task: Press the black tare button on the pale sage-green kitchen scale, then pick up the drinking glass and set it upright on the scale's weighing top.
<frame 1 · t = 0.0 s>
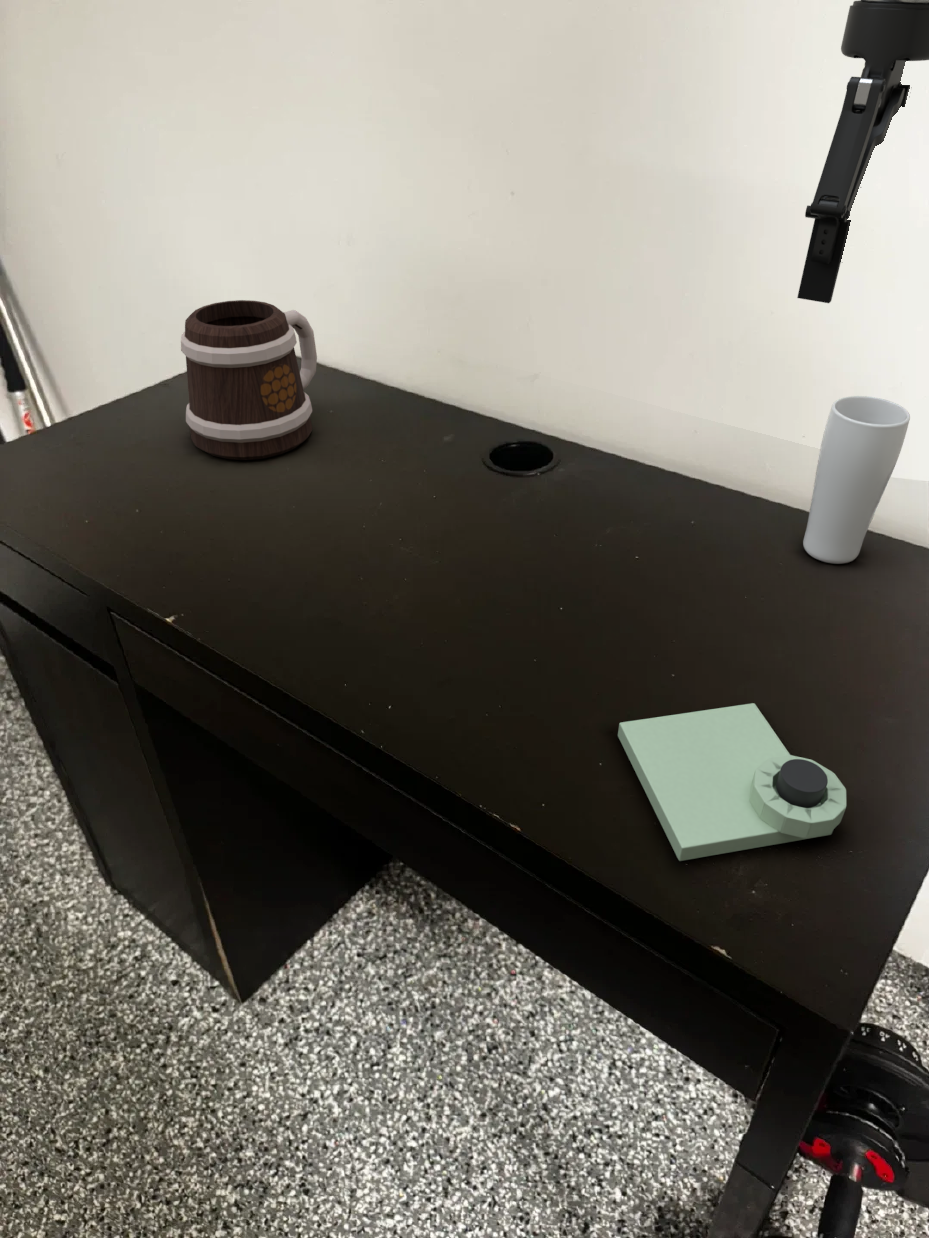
hand: (834, 280, 82), 24 cm above the table, tool pointing down, fingers open, 13 cm apart
tare button: (801, 783, 59), point 3 cm above the table, slide at 0.1 cm
drinking glass: (828, 553, 89), on the table
scale: (718, 782, 64), on the table
mug: (267, 430, 111), on the table
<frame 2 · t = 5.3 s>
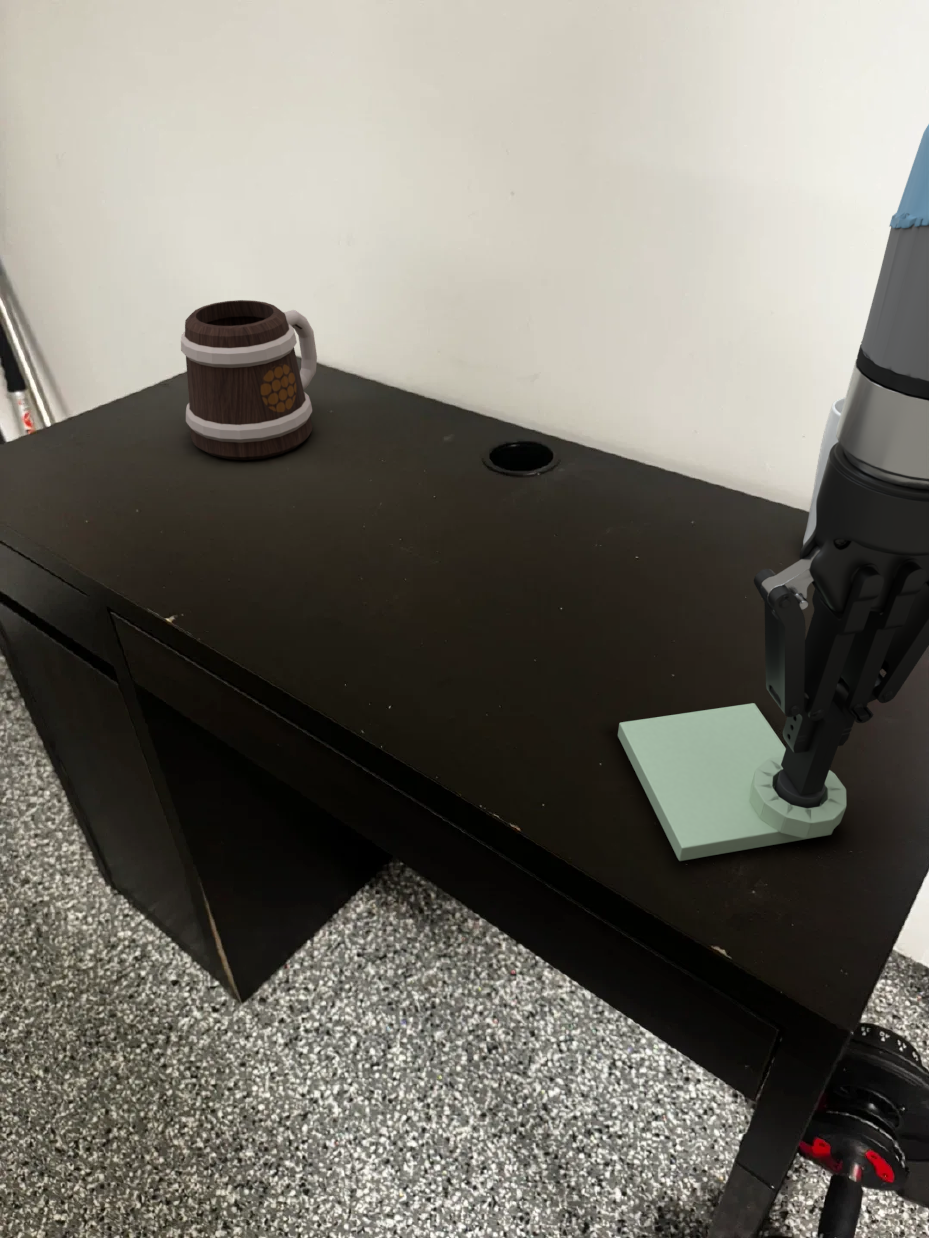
hand: (800, 777, 59), 4 cm above the table, tool pointing down, fingers closed
tare button: (799, 789, 60), point 3 cm above the table, slide at -0.5 cm, touching gripper
everything else where it was.
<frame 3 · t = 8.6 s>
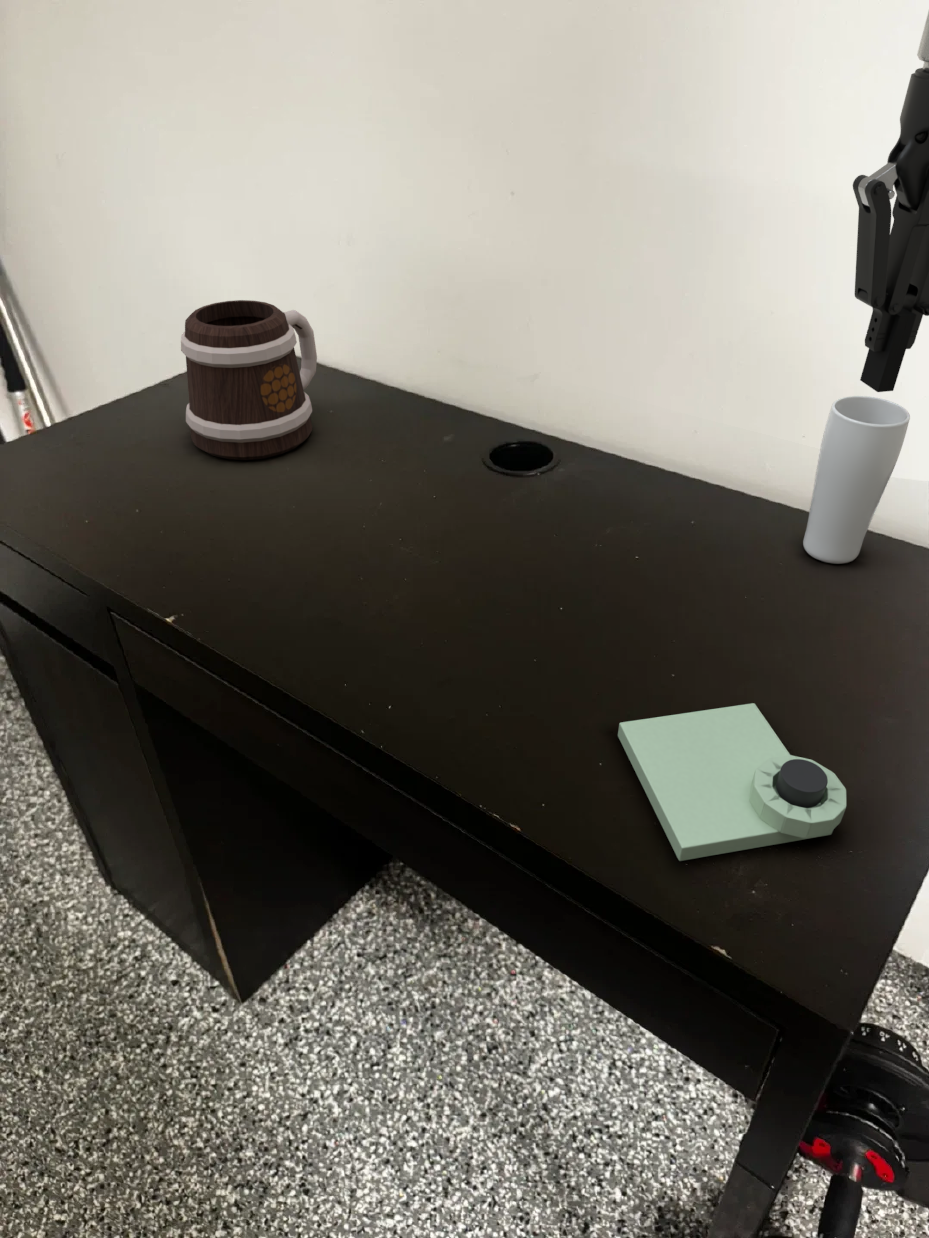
hand: (876, 385, 77), 18 cm above the table, tool pointing down, fingers closed
tare button: (801, 783, 59), point 3 cm above the table, slide at 0.1 cm
everything else where it was.
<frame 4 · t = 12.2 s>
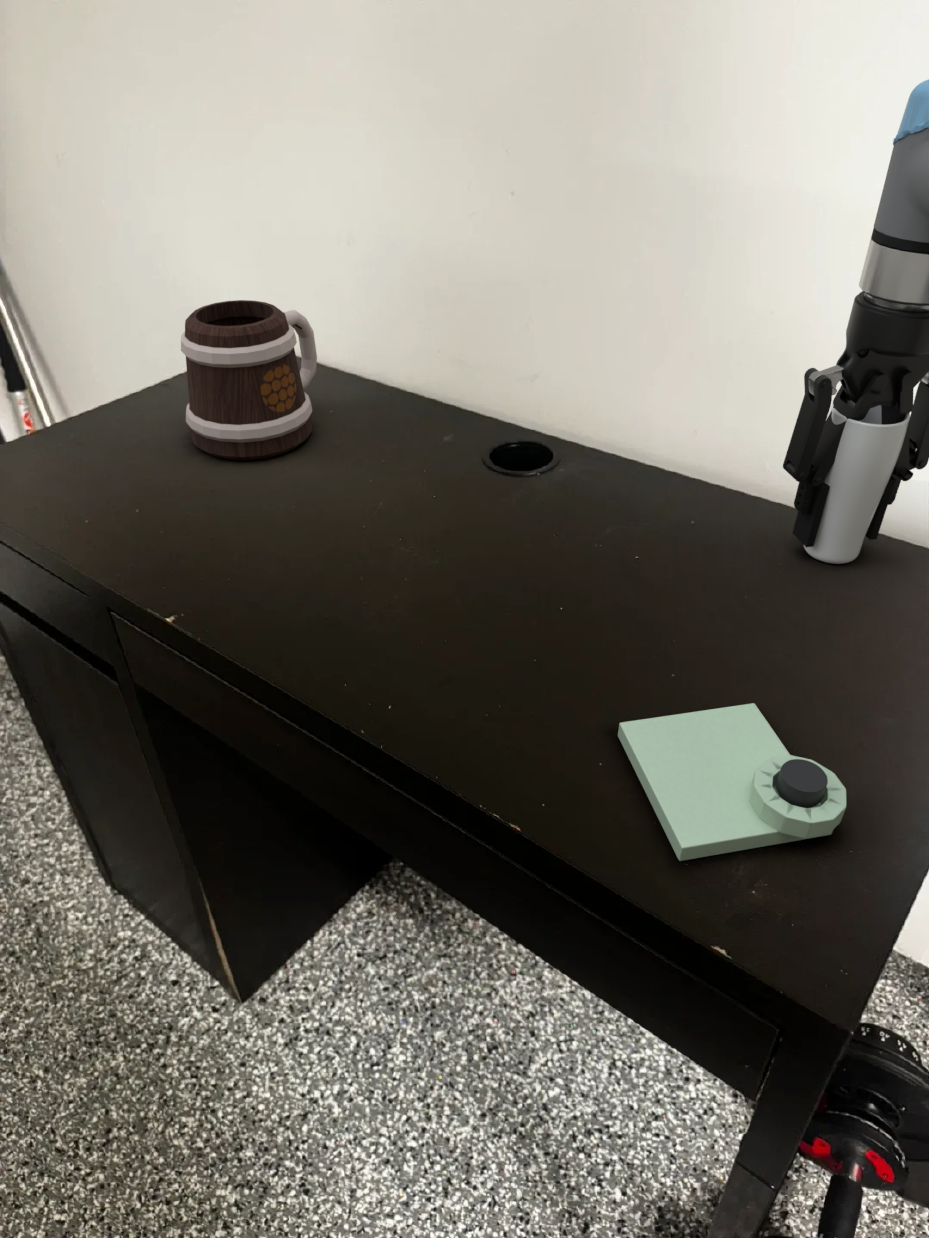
hand: (834, 535, 88), 2 cm above the table, tool pointing down, fingers closed on drinking glass, 6 cm apart
drinking glass: (829, 553, 89), on the table, touching gripper
everything else where it was.
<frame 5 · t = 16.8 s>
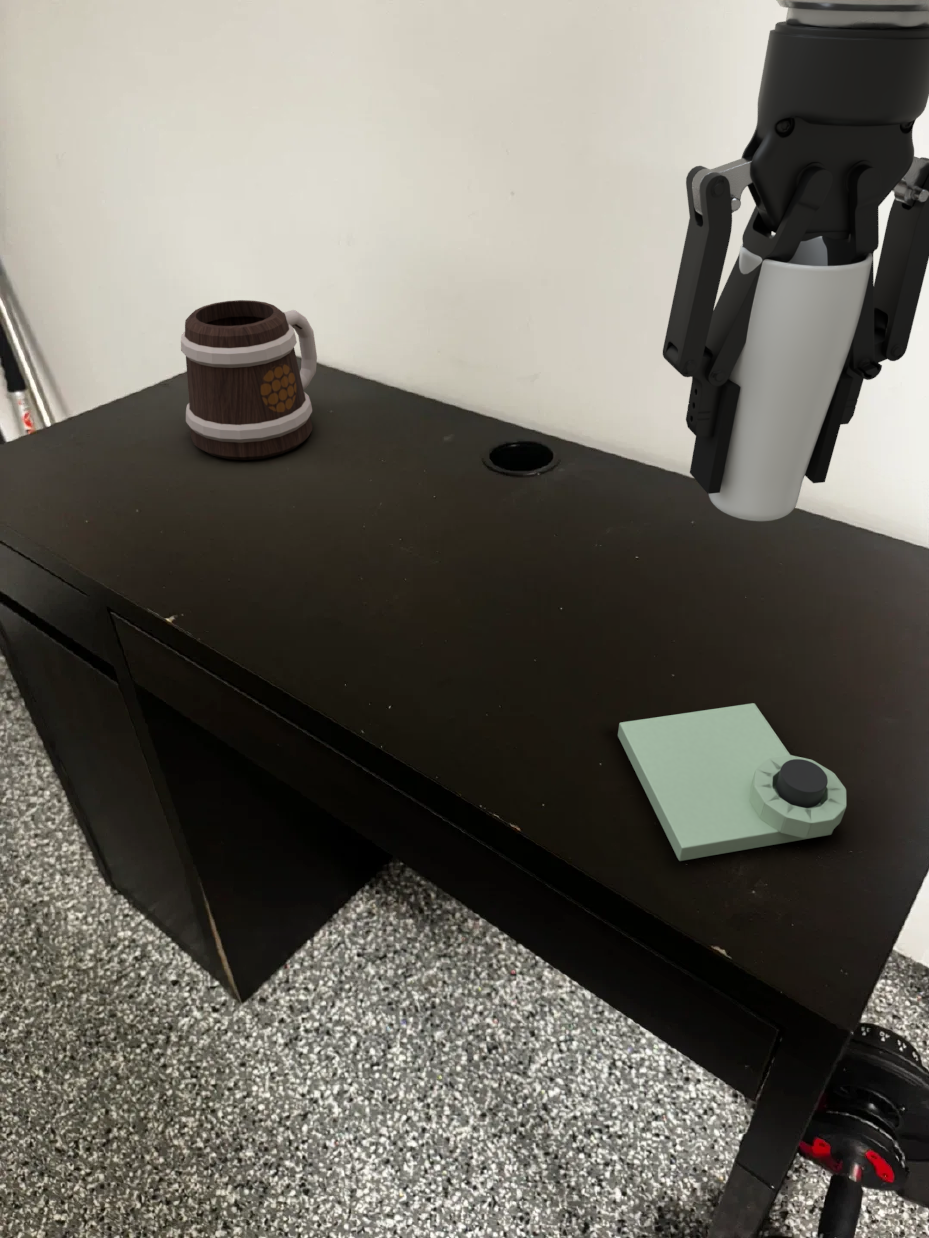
hand: (756, 476, 54), 22 cm above the table, tool pointing down, fingers closed on drinking glass, 6 cm apart
drinking glass: (749, 506, 55), point 20 cm above the table, touching gripper
everything else where it was.
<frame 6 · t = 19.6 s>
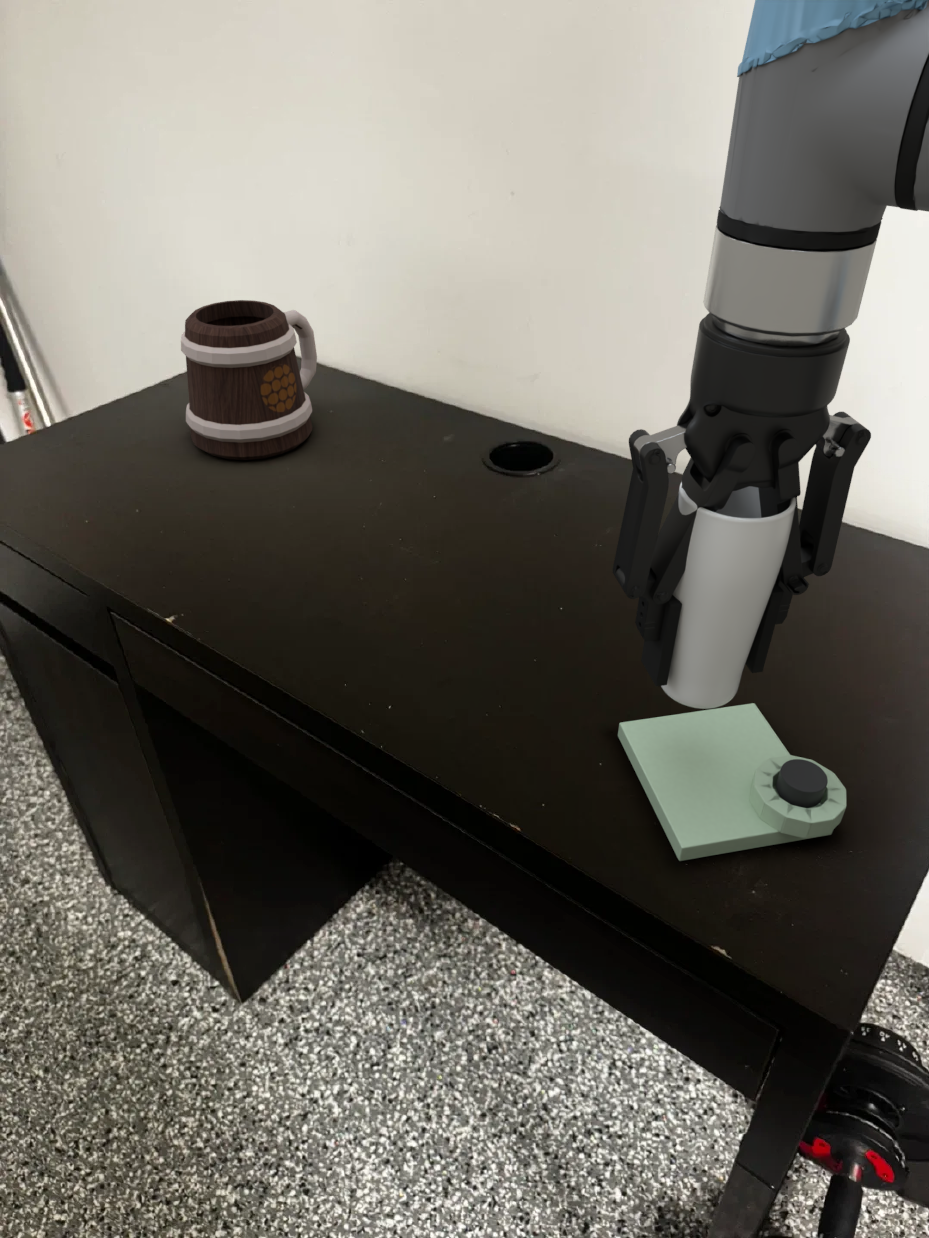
hand: (701, 665, 60), 10 cm above the table, tool pointing down, fingers closed on drinking glass, 6 cm apart
drinking glass: (695, 688, 61), point 7 cm above the table, touching gripper
everything else where it was.
when the fingers open (3 cm above the table, at t = 21.7 s): drinking glass stays where it is, resting on scale.
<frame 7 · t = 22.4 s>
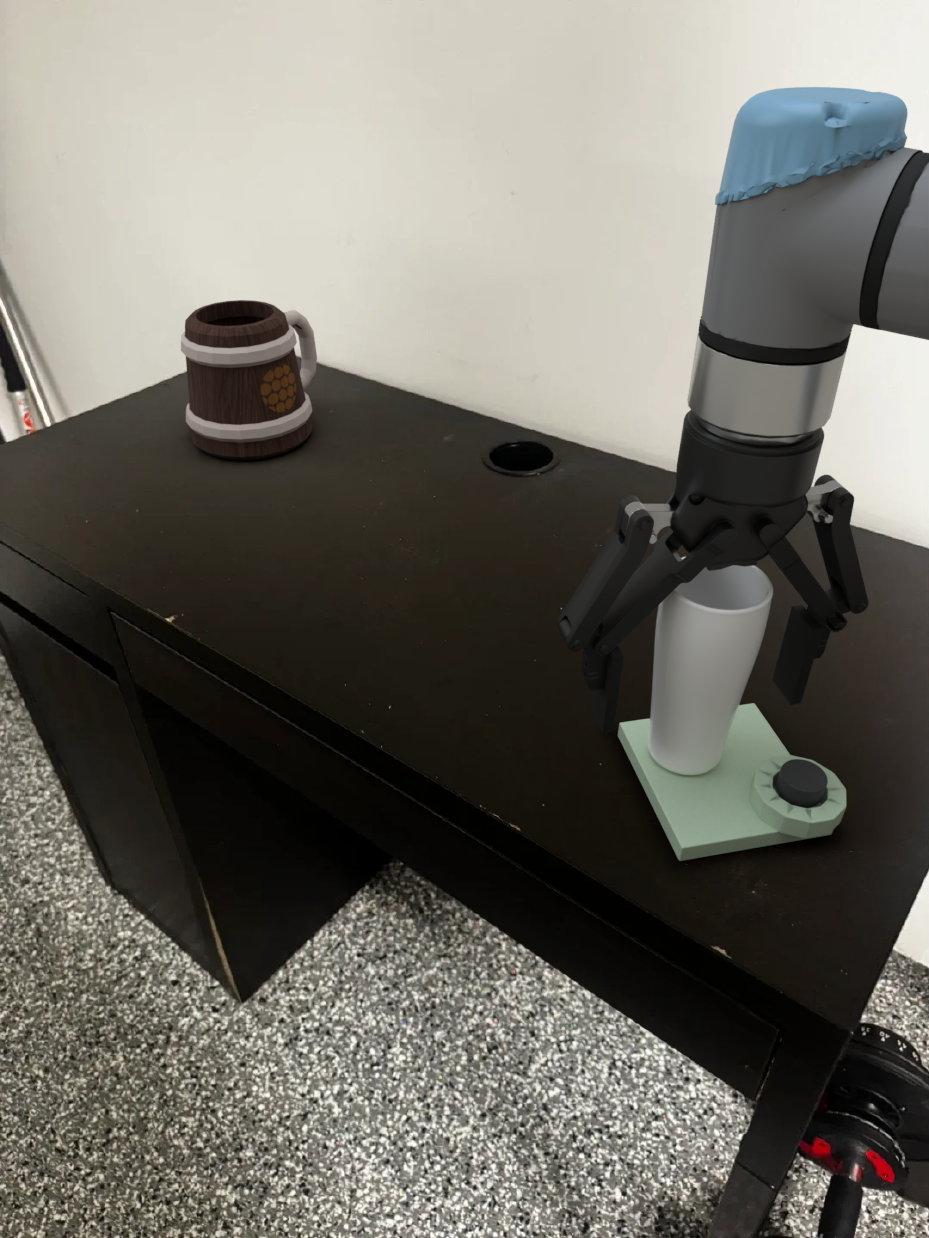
hand: (695, 705, 62), 6 cm above the table, tool pointing down, fingers open, 13 cm apart
drinking glass: (682, 754, 65), point 1 cm above the table, touching scale
everything else where it was.
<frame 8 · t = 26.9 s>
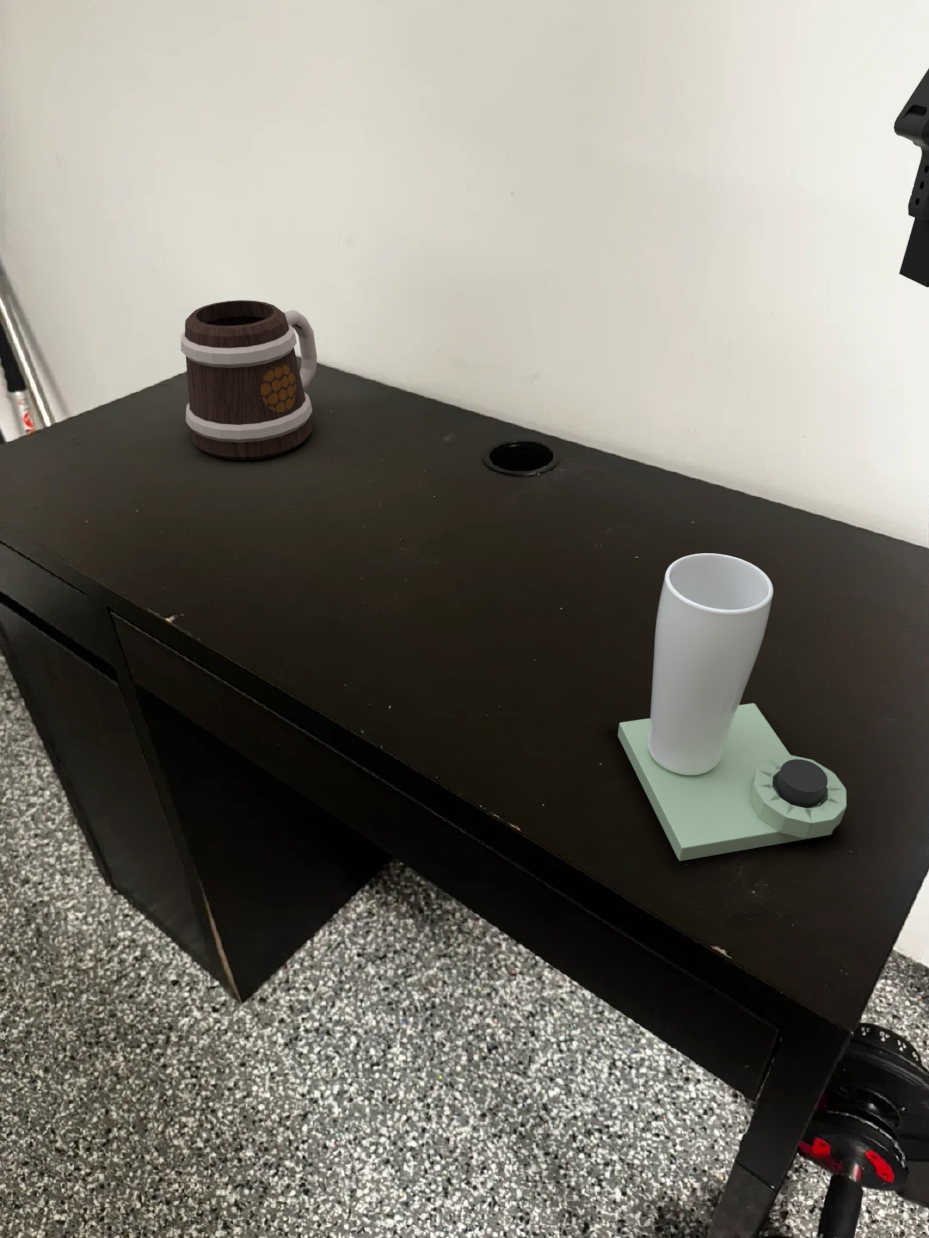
nothing on the table moved.
at the end: tare button pushed in 0.8 cm at the most during the clip, back to where it started at the end; drinking glass inside the target area on the scale (0.4 cm from its centre), point 1.2 cm above the scale's base; drinking glass touching scale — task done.
